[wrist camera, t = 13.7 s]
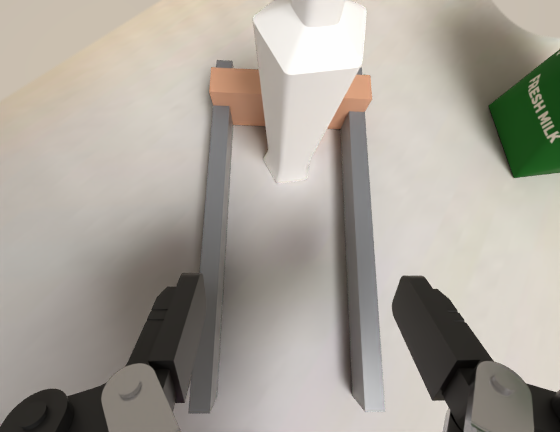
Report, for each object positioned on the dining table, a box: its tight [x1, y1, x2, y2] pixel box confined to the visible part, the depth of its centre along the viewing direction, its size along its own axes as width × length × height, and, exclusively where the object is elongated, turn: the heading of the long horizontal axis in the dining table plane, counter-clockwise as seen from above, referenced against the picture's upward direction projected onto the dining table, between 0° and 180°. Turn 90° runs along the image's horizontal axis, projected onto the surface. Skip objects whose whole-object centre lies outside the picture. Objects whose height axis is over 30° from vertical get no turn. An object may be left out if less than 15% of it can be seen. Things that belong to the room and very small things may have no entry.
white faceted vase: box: [253, 0, 367, 184], centre depth 16 cm, size 5×4×15 cm
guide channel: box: [189, 60, 385, 413], centre depth 20 cm, size 11×24×4 cm, turn 179°
